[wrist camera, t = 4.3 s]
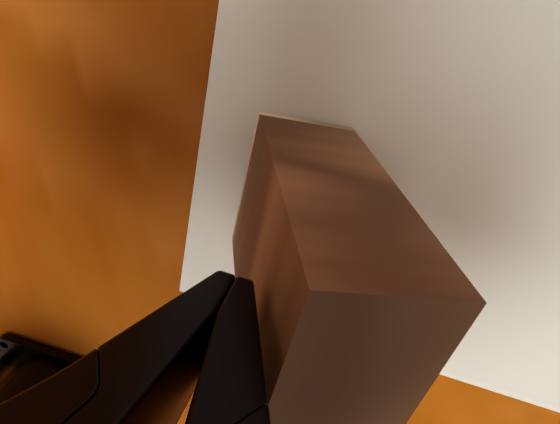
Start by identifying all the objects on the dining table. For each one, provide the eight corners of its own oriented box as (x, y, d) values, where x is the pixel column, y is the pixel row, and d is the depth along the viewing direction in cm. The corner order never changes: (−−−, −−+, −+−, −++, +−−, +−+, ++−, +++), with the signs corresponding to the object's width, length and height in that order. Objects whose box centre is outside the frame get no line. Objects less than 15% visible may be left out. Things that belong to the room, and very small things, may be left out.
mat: (184, 282, 19) (179, 291, 19) (262, -262, 10) (257, -275, 10) (564, 403, 18) (570, 415, 18) (1032, -75, 9) (1071, -78, 9)
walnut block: (232, 238, 15) (248, 460, 9) (258, 111, 13) (309, 290, 6) (312, 246, 16) (382, 456, 10) (352, 127, 14) (487, 303, 7)
